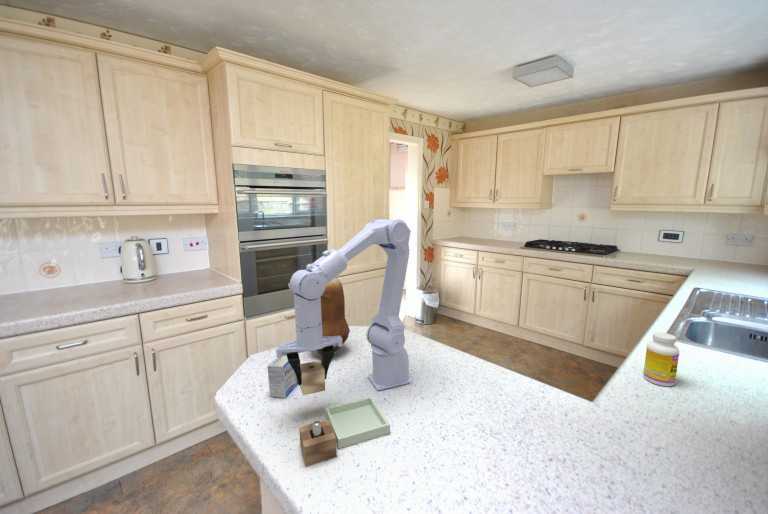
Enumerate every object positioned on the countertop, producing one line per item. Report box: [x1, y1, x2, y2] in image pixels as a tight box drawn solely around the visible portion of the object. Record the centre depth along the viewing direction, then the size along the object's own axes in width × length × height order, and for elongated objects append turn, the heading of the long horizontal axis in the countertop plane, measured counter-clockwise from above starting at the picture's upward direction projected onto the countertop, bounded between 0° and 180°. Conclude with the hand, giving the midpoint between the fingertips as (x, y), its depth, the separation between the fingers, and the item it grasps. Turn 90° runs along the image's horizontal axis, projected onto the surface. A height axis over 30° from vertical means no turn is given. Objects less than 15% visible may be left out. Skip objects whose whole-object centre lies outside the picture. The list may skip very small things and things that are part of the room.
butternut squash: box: [315, 277, 351, 354], centre depth 107 cm, size 14×13×25 cm
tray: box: [325, 396, 391, 449], centre depth 73 cm, size 11×11×2 cm
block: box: [299, 360, 326, 396], centre depth 76 cm, size 5×5×5 cm
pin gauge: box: [311, 420, 321, 438], centre depth 65 cm, size 2×2×6 cm
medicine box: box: [267, 355, 298, 399], centre depth 87 cm, size 8×4×9 cm, turn 168°
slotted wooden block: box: [298, 419, 338, 467], centre depth 65 cm, size 6×6×4 cm
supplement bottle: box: [642, 331, 680, 387], centre depth 88 cm, size 7×7×13 cm
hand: (311, 380), depth 76 cm, fingers closed on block, 5 cm apart
